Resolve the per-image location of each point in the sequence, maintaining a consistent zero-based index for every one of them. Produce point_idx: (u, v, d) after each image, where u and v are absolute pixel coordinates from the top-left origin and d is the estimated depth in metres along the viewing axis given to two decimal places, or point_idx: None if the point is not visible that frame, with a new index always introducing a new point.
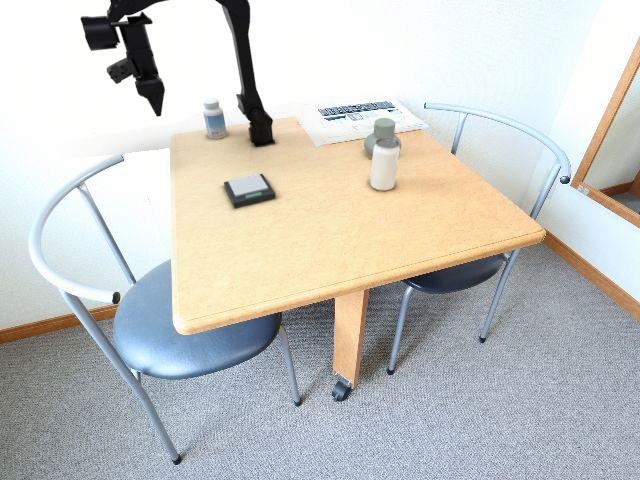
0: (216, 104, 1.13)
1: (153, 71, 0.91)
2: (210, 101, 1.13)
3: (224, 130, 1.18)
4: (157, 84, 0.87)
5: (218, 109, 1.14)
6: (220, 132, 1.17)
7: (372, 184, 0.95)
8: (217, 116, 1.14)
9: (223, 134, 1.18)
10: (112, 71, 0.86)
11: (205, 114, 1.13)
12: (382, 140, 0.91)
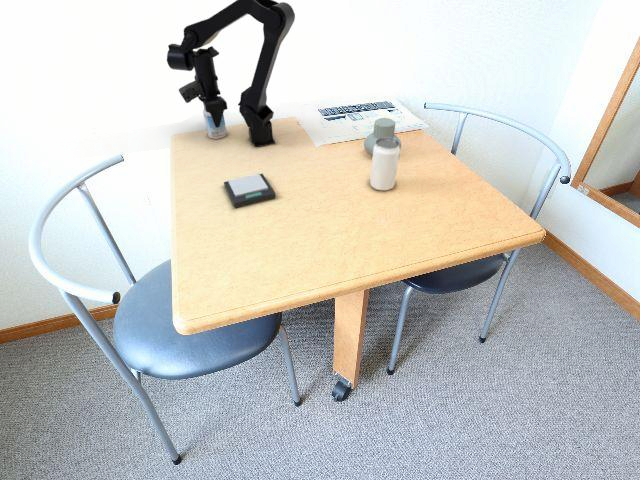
0: None
1: (216, 92, 1.10)
2: None
3: (224, 130, 1.18)
4: (222, 104, 1.06)
5: None
6: (220, 132, 1.17)
7: (372, 184, 0.95)
8: None
9: (223, 134, 1.18)
10: (186, 93, 1.05)
11: (205, 114, 1.13)
12: (382, 140, 0.91)
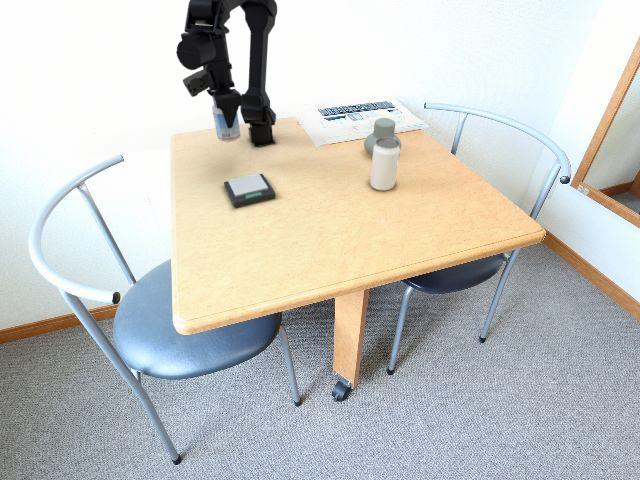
0: None
1: (229, 84, 0.88)
2: None
3: (237, 132, 0.96)
4: (237, 98, 0.84)
5: None
6: (233, 135, 0.95)
7: (372, 184, 0.95)
8: None
9: (236, 137, 0.96)
10: (191, 84, 0.83)
11: (214, 111, 0.91)
12: (382, 140, 0.91)
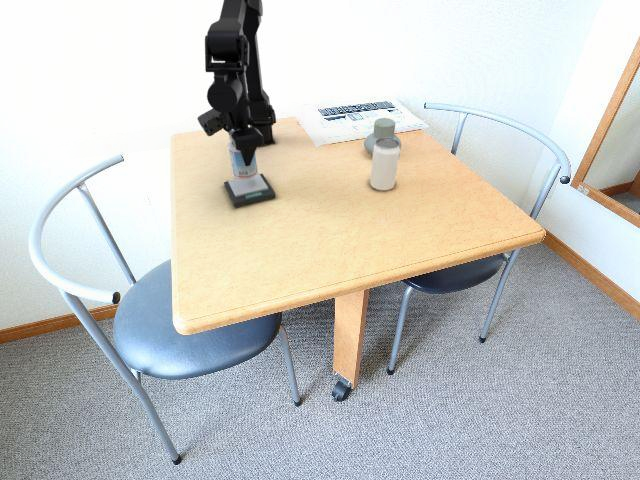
0: None
1: (248, 121, 0.81)
2: None
3: (255, 168, 0.90)
4: (258, 139, 0.77)
5: None
6: (250, 172, 0.89)
7: (372, 184, 0.95)
8: None
9: (254, 174, 0.90)
10: (208, 124, 0.76)
11: (231, 149, 0.85)
12: (382, 140, 0.91)
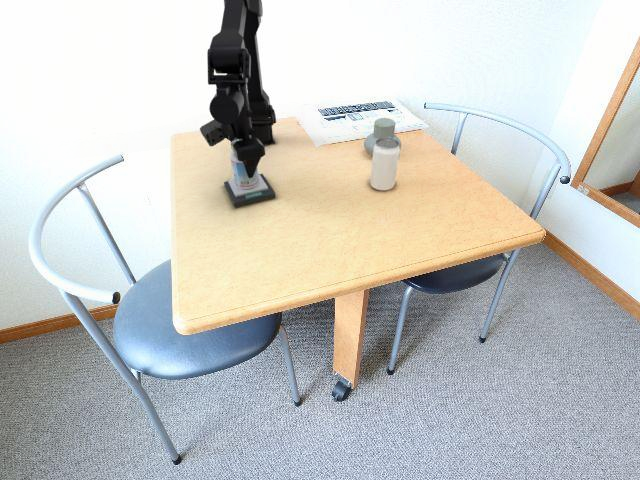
0: None
1: (249, 132, 0.83)
2: None
3: (256, 178, 0.91)
4: (259, 149, 0.79)
5: None
6: (252, 182, 0.91)
7: (372, 184, 0.95)
8: None
9: (255, 183, 0.92)
10: (210, 135, 0.78)
11: (233, 160, 0.87)
12: (382, 140, 0.91)
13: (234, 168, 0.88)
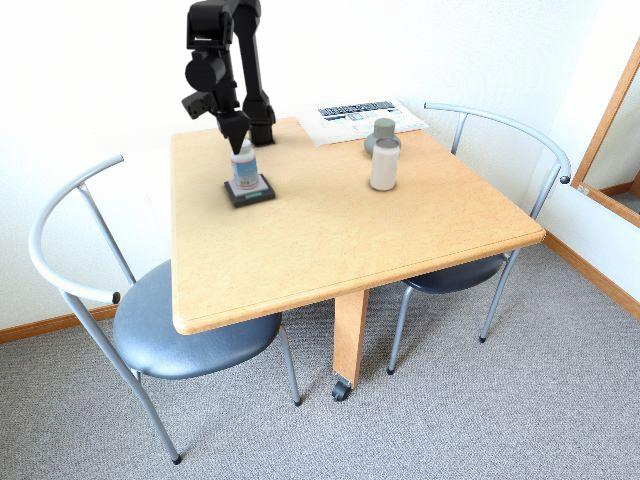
0: (248, 147, 0.86)
1: (234, 105, 0.78)
2: None
3: (256, 178, 0.91)
4: (244, 121, 0.74)
5: (250, 153, 0.87)
6: (252, 182, 0.91)
7: (372, 184, 0.95)
8: (249, 162, 0.87)
9: (255, 183, 0.92)
10: (192, 106, 0.73)
11: (233, 160, 0.87)
12: (382, 140, 0.91)
13: (234, 168, 0.88)
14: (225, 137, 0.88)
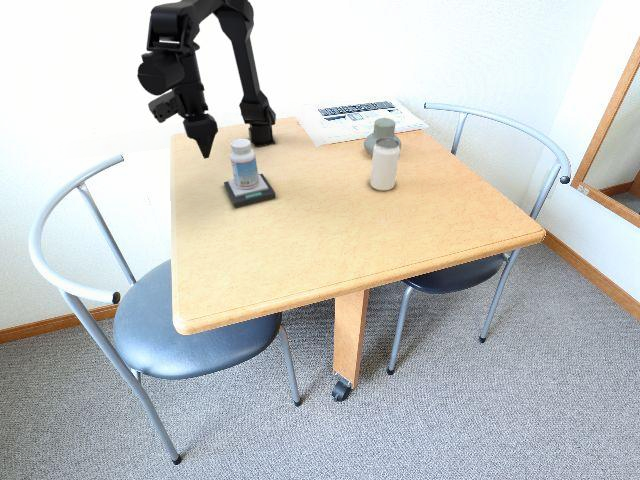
0: (248, 147, 0.86)
1: (202, 108, 0.77)
2: (240, 143, 0.86)
3: (256, 178, 0.91)
4: (210, 125, 0.73)
5: (250, 153, 0.87)
6: (252, 182, 0.91)
7: (372, 184, 0.95)
8: (248, 162, 0.87)
9: (255, 183, 0.92)
10: (157, 110, 0.72)
11: (233, 160, 0.87)
12: (382, 140, 0.91)
13: (234, 168, 0.88)
14: None
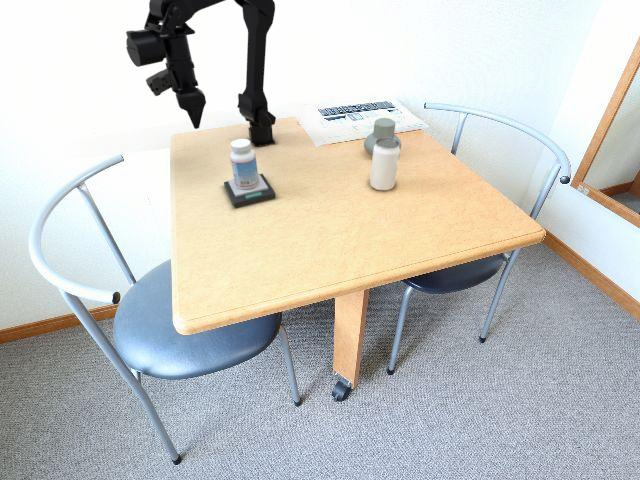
0: (248, 147, 0.86)
1: (193, 83, 0.89)
2: (240, 143, 0.86)
3: (256, 178, 0.91)
4: (199, 97, 0.85)
5: (250, 153, 0.87)
6: (252, 182, 0.91)
7: (372, 184, 0.95)
8: (248, 162, 0.87)
9: (255, 183, 0.92)
10: (153, 83, 0.84)
11: (233, 160, 0.87)
12: (382, 140, 0.91)
13: (234, 168, 0.88)
14: None
